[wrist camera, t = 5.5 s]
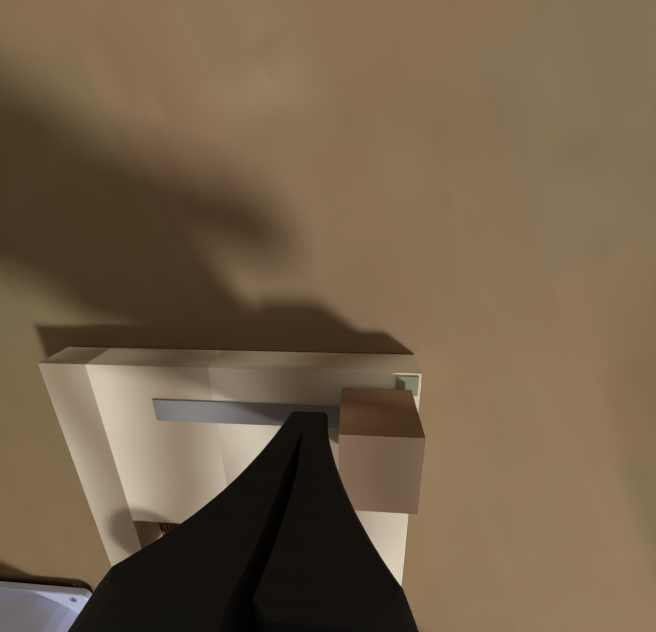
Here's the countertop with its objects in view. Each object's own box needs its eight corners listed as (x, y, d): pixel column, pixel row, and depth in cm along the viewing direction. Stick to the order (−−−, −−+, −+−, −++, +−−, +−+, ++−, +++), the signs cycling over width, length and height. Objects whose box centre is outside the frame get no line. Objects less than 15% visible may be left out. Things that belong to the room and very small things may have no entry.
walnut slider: (342, 452, 13) (338, 509, 11) (341, 387, 12) (338, 434, 10) (405, 455, 13) (417, 514, 10) (411, 390, 12) (425, 438, 9)
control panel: (154, 614, 21) (125, 674, 18) (68, 346, 14) (5, 380, 12) (390, 636, 20) (396, 703, 17) (415, 354, 13) (429, 394, 11)
